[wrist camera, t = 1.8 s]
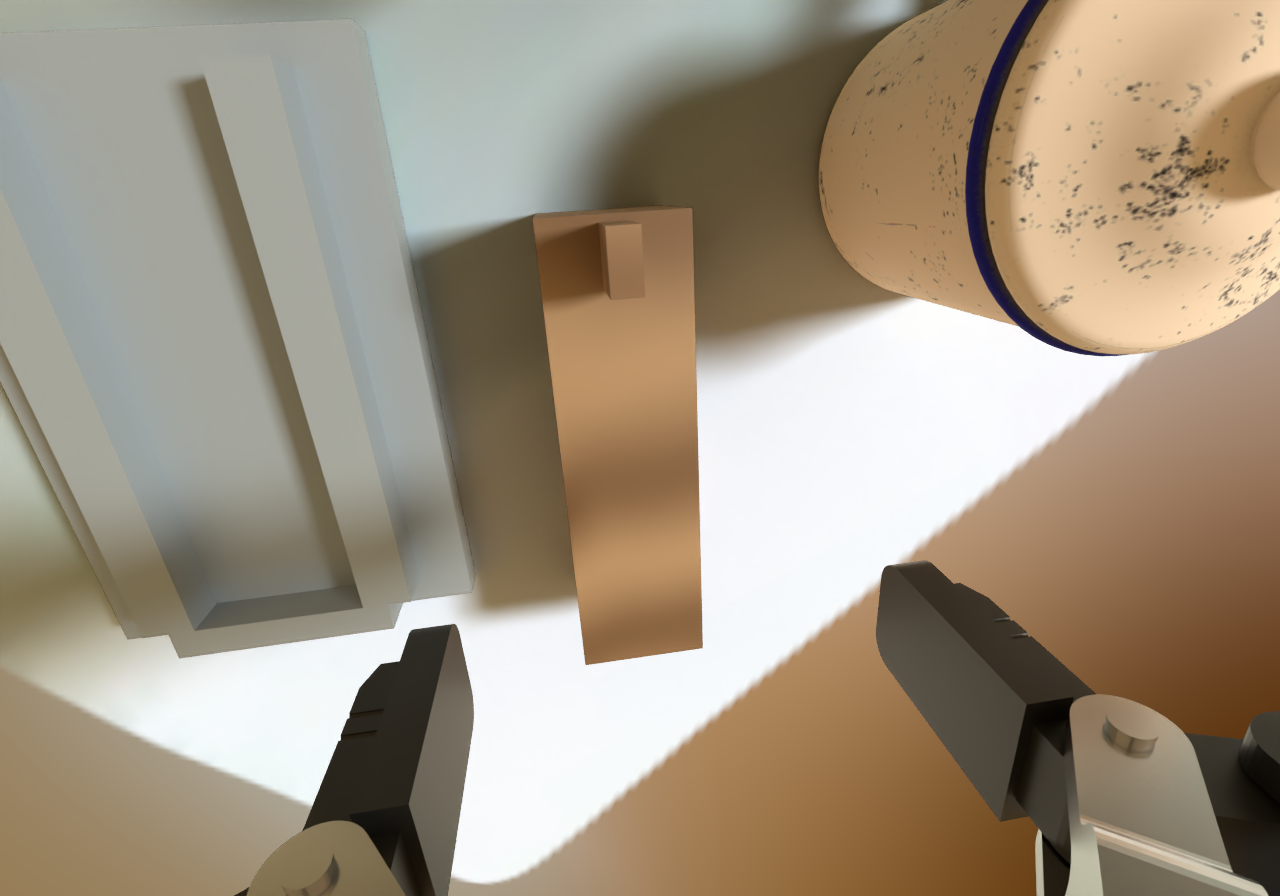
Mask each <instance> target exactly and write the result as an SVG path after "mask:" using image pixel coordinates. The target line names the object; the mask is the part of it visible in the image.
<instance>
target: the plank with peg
mask: <svg viewBox="0 0 1280 896" xmlns="http://www.w3.org/2000/svg"><path fill="white" fill-rule="evenodd" d="M533 227H534V235H535V244H536V252H537V260H538V269H539V277H540V286H541V294H542V302H543V311H544V319H545V328H546V336H547V344H548V353H549V361H550V370H551V378H552V386H553V395H554V403H555V412H556V420H557V428H558V437H559V445H560V454H561V462H562V470H563V479H564V487H565V496H566V504H567V512H568V521H569V529H570V538H571V546H572V554H573V563H574V571H575V580H576V588H577V596H578V605H579V613H580V622H581V630H582V639H583V647H584V655H585V664H586V665H589V664H596V663H603V662H610V661H617V660H624V659H631V658H637V657H644V656H651V655H658V654H665V653H672V652H679V651H685V650H692V649H699V648H703V642H702V599H701V556H700V513H699V470H698V427H697V384H696V341H695V298H694V255H693V212H692V208H688V207H674V206H661V205H660V206H645V207H629V208H614V209H599V210H584V211H569V212H554V213H539V214H535V216H534V217H533Z"/></svg>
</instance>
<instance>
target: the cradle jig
mask: <svg viewBox="0 0 1280 896" xmlns="http://www.w3.org/2000/svg"><path fill="white" fill-rule="evenodd" d="M0 382H1V384H2V386H3V388H4V390H5V392H6V394H7V396H8V398H9V400H10V402H11V404H12V406H13V408H14V410H15V412H16V414H17V417H18V419H19V421H20V423H21V425H22V427H23V429H24V431H25V433H26V435H27V437H28V439H29V441H30V443H31V445H32V447H33V449H34V451H35V453H36V455H37V457H38V459H39V461H40V463H41V465H42V467H43V469H44V471H45V473H46V475H47V477H48V479H49V481H50V483H51V485H52V487H53V489H54V491H55V493H56V495H57V498H58V500H59V502H60V504H61V506H62V508H63V510H64V512H65V514H66V516H67V518H68V520H69V522H70V524H71V526H72V528H73V530H74V532H75V534H76V536H77V538H78V540H79V542H80V544H81V546H82V548H83V550H84V552H85V554H86V556H87V558H88V560H89V562H90V564H91V566H92V568H93V570H94V572H95V574H96V576H97V579H98V581H99V583H100V585H101V587H102V589H103V591H104V593H105V595H106V597H107V599H108V601H109V603H110V605H111V607H112V609H113V611H114V613H115V615H116V617H117V619H118V621H119V623H120V625H121V627H122V629H123V631H124V633H125V635H126V637H127V639H135V638H146V637H154V636H161V635H169V637H170V639H171V641H172V644H173V646H174V648H175V650H176V652H177V654H178V657H179V658H185V657H192V656H199V655H206V654H214V653H221V652H228V651H235V650H242V649H249V648H256V647H264V646H271V645H278V644H285V643H292V642H299V641H306V640H314V639H321V638H328V637H335V636H342V635H349V634H356V633H364V632H371V631H378V630H385V629H392V628H394V626H395V624H396V621H397V618H398V615H399V613H400V610H401V607H402V604H403V602H411V601H414V600H421V599H429V598H436V597H443V596H451V595H458V594H465V593H472V590H473V584H474V579H475V570H474V565H473V560H472V555H471V550H470V545H469V540H468V536H467V531H466V526H465V521H464V516H463V511H462V506H461V501H460V496H459V491H458V486H457V482H456V477H455V472H454V467H453V462H452V457H451V452H450V447H449V442H448V437H447V433H446V428H445V423H444V418H443V413H442V408H441V403H440V398H439V393H438V388H437V384H436V379H435V374H434V369H433V364H432V359H431V354H430V349H429V344H428V339H427V335H426V330H425V325H424V320H423V315H422V310H421V305H420V300H419V295H418V290H417V286H416V281H415V276H414V271H413V266H412V261H411V256H410V251H409V246H408V241H407V237H406V232H405V227H404V222H403V217H402V212H401V207H400V202H399V197H398V192H397V188H396V183H395V178H394V173H393V168H392V163H391V158H390V153H389V148H388V143H387V138H386V134H385V129H384V124H383V119H382V114H381V109H380V104H379V99H378V94H377V89H376V85H375V80H374V75H373V70H372V65H371V60H370V55H369V50H368V45H367V40H366V36H365V31H364V30H363V29H362V28H361V27H360V26H359V25H358V24H357V23H356V22H355V21H353V20H352V19H336V20H312V21H287V22H262V23H238V24H213V25H188V26H164V27H139V28H114V29H89V30H65V31H40V32H15V33H0Z"/></svg>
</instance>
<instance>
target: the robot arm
mask: <svg viewBox="0 0 1280 896" xmlns="http://www.w3.org/2000/svg"><path fill="white" fill-rule="evenodd" d="M876 639H877V644H878V648H879V651H880V654H881V657H882V659H883V661H884V663H885V665H886V666H887V668H888V669H889V670H890V672H891V673H892V674H893V676H894V677H895V679H896V680H897V681H898V683H899V684H900V685H901V687H902V688H903V690H904V691H905V692H906V693H907V695H908V696H909V697H910V699H911V700H912V702H913V703H914V704H915V706H916V707H917V709H918V710H919V711H920V713H921V714H922V715H923V717H924V718H925V720H926V721H927V722H928V724H929V725H930V726H931V728H932V729H933V731H934V732H935V733H936V735H937V736H938V737H939V739H940V740H941V741H942V743H943V744H944V746H945V747H946V748H947V750H948V751H949V752H950V754H951V755H952V756H953V758H954V759H955V761H956V762H957V763H958V765H959V766H960V767H961V769H962V770H963V772H964V773H965V774H966V776H967V777H968V778H969V780H970V781H971V783H972V784H973V785H974V787H975V788H976V789H977V791H978V792H979V793H980V795H981V796H982V797H983V799H984V800H985V801H986V803H987V804H988V806H989V807H990V809H991V810H992V811H993V813H994V814H995V815H996V816H997V818H998V819H999V821H1000V822H1001V821H1006V820H1012V819H1017V818H1022V817H1028V816H1030V818H1031V819H1032V821H1033V822H1034V823H1035V824H1036V826H1037V827H1038V828H1039V830H1038V833H1037V837H1036V844H1035V845H1036V846H1035V848H1036V879H1037V880H1036V881H1037V896H1280V712H1266V713H1261V714H1259V715H1257V716H1255V717H1254V718H1253V719H1252V721H1251V723H1250V726H1249V728H1248V731H1247V733H1246V736H1245V738H1244V739H1234V738H1225V737H1216V736H1206V735H1197V734H1187V733H1183V732H1182V731H1181V730H1180V729H1179V728H1178V727H1177V726H1176V725H1175V724H1174V723H1172V722H1171V721H1170V720H1168V719H1167V718H1165V717H1164V716H1163V715H1161V714H1159V713H1157V712H1156V711H1154V710H1152V709H1150V708H1148V707H1146V706H1144V705H1141V704H1139V703H1137V702H1134V701H1131V700H1128V699H1125V698H1121V697H1116V696H1110V695H1097V694H1096V693H1095V692H1093V691H1092V690H1091V689H1090V688H1089V687H1088V686H1087V685H1085V684H1084V683H1083V682H1082V681H1081V680H1080V679H1079V678H1078V677H1077V676H1075V675H1074V674H1073V673H1072V672H1071V671H1070V670H1069V669H1068V668H1066V667H1065V666H1064V665H1063V664H1062V663H1061V662H1060V661H1058V659H1056V658H1055V657H1054V656H1053V655H1052V654H1051V653H1050V652H1049V651H1047V650H1046V649H1045V648H1044V647H1043V646H1042V645H1041V644H1040V643H1038V642H1037V641H1036V640H1035V639H1034V638H1033V637H1028V635H1027V632H1026V631H1025V630H1024V629H1023V628H1022V627H1020V626H1019V625H1018V624H1017V623H1016V622H1015V621H1011V620H1010V617H1009V616H1008V615H1007V614H1006V613H1005V612H1004V611H1003V610H1002V609H1000V608H999V607H998V606H997V605H996V604H995V603H994V602H993V601H991V600H990V599H989V598H988V597H986V596H984V595H982V594H980V593H978V592H976V591H974V590H972V589H971V588H969V587H967V586H965V585H963V584H961V583H956V584H953V583H952V582H951V581H950V580H949V579H948V578H947V577H946V576H945V575H944V574H943V573H942V572H940V571H939V570H938V569H937V568H936V567H935V566H934V565H933V564H932V563H930V562H928V561H918V562H910V563H903V564H896V565H889V566H886V567H885V568H884V570H883V572H882V577H881V586H880V597H879V607H878V617H877V627H876ZM349 714H350V718H349V719H347V721H346V724H345V726H344V729H343V731H342V734H341V741H338V744H337V746H336V749H335V751H334V754H333V756H332V759H331V761H330V764H329V766H328V769H327V771H326V774H325V776H324V779H323V781H322V784H321V786H320V789H319V791H318V794H317V796H316V799H315V801H314V804H313V806H312V809H311V811H310V814H309V816H308V819H307V821H306V824H305V827H304V829H303V831H302V832H300V833H298V834H297V835H295V836H293V837H292V838H290V839H289V840H288V841H286V842H285V843H284V844H282V845H281V846H280V847H279V848H278V849H277V850H276V851H275V852H273V854H272V855H271V856H270V857H269V858H268V859H267V860H266V861H265V862H264V864H263V865H262V866H261V868H260V869H259V871H258V872H257V874H256V875H255V877H254V879H253V881H252V883H251V885H250V887H248V888H247V889H246V890H244V891H242V892H240V893H238V894H236V895H235V896H448V890H449V883H450V877H451V870H452V863H453V857H454V850H455V843H456V837H457V830H458V823H459V817H460V810H461V803H462V797H463V790H464V783H465V777H466V770H467V764H468V757H469V750H470V744H471V737H472V730H473V719H474V709H473V696H472V689H471V685H470V680H469V675H468V671H467V666H466V662H465V657H464V653H463V648H462V643H461V639H460V634H459V631H458V628H457V626H456V625H455V624H451V625H444V626H436V627H429V628H422V629H414V630H412V631H411V632H410V633H409V636H408V639H407V642H406V645H405V648H404V651H403V654H402V657H401V660H400V661H399V662H392V663H385V664H381V665H380V666H379V667H378V668H377V669H376V670H375V671H374V672H373V674H372V675H371V676H370V677H369V678H368V679H367V680H366V681H365V682H364V684H363V685H362V686H361V687H360V688H359V691H358V693H357V696H356V698H355V701H354V703H353V706H352V708H351V711H350V713H349Z"/></svg>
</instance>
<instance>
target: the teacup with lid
mask: <svg viewBox="0 0 1280 896" xmlns="http://www.w3.org/2000/svg"><path fill="white" fill-rule="evenodd" d="M819 193H820V200H821V207H822V211H823V215H824V219H825V222H826V225H827V228H828V231H829V233H830V235H831V237H832V240H833V242H834V243H835V245H836V247H837V249H838V250H839V252H840V253H841V255H842V256H843V257H844V259H845V260H846V261H847V262H848V263H849V264H850V265H851V267H852V268H853V269H854V270H856V271H857V272H858V273H859V274H860V275H861V276H863V277H864V278H866V279H867V280H869V281H870V282H872V283H874V284H876V285H878V286H880V287H882V288H884V289H887V290H889V291H892V292H896V293H899V294H903V295H906V296H910V297H914V298H917V299H921V300H925V301H928V302H932V303H936V304H939V305H943V306H947V307H950V308H954V309H957V310H961V311H965V312H968V313H972V314H976V315H979V316H983V317H987V318H990V319H994V320H997V321H1001V322H1005V323H1008V324H1012V325H1016V326H1019V327H1020V328H1022V329H1023V330H1025V331H1026V332H1028V333H1029V334H1030V335H1032V336H1033V337H1035V338H1037V339H1039V340H1041V341H1043V342H1045V343H1047V344H1049V345H1051V346H1054V347H1057V348H1059V349H1062V350H1065V351H1069V352H1074V353H1078V354H1084V355H1094V356H1119V355H1128V354H1139V353H1147V352H1153V351H1158V350H1162V349H1167V348H1170V347H1174V346H1177V345H1180V344H1183V343H1186V342H1189V341H1192V340H1195V339H1197V338H1200V337H1202V336H1205V335H1207V334H1210V333H1212V332H1214V331H1216V330H1218V329H1220V328H1222V327H1224V326H1226V325H1228V324H1230V323H1231V322H1233V321H1235V320H1236V319H1238V318H1240V317H1241V316H1243V315H1245V314H1246V313H1248V312H1249V311H1251V310H1252V309H1254V308H1255V307H1257V306H1258V305H1259V304H1261V303H1262V302H1264V301H1265V300H1266V299H1268V298H1269V297H1270V296H1272V295H1273V294H1274V293H1275V292H1276V291H1278V290H1279V289H1280V0H949V1H947V2H945V3H943V4H940V5H938V6H936V7H934V8H932V9H930V10H928V11H926V12H924V13H922V14H920V15H918V16H916V17H914V18H913V19H911V20H909V21H907V22H905V23H904V24H902V25H901V26H899V27H898V28H896V29H895V30H894V31H892V32H891V33H890V34H888V35H887V36H886V37H885V38H884V39H882V40H881V41H880V42H879V43H878V44H877V45H876V46H875V47H874V48H873V49H872V50H871V51H870V52H869V53H868V54H867V55H866V56H865V58H864V59H863V60H862V61H861V62H860V64H859V65H858V66H857V67H856V69H855V70H854V72H853V73H852V75H851V76H850V77H849V79H848V81H847V82H846V84H845V86H844V87H843V89H842V91H841V93H840V95H839V97H838V99H837V101H836V103H835V105H834V108H833V110H832V113H831V115H830V118H829V121H828V124H827V127H826V131H825V134H824V139H823V143H822V148H821V155H820V163H819Z"/></svg>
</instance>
